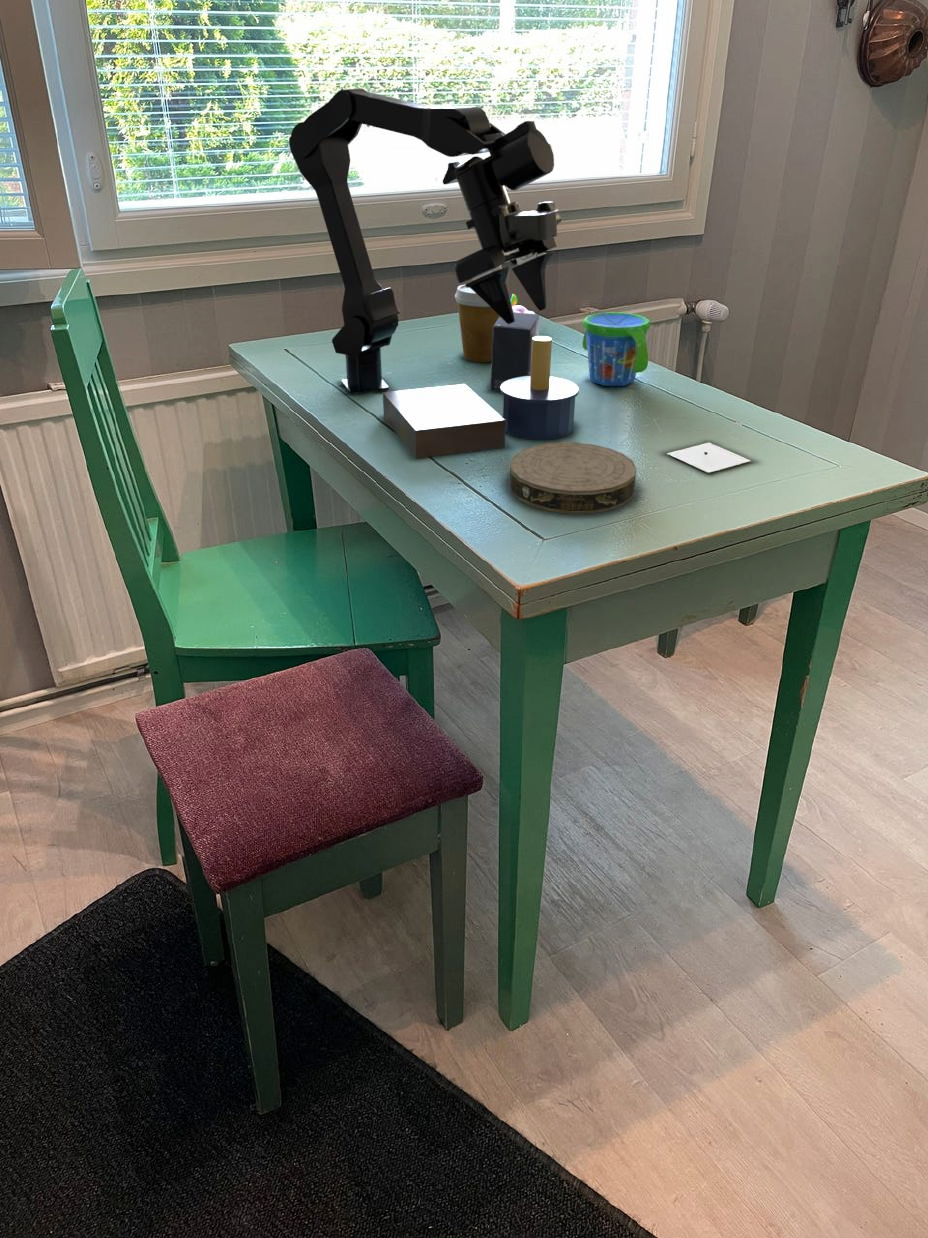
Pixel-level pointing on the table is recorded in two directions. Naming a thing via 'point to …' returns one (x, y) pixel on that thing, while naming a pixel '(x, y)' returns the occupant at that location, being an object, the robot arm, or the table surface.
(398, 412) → the block
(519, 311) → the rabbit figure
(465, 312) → the disposable coffee cup
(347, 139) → the robot arm
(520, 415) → the tin
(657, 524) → the table surface
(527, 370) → the small box
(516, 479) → the brown flat disc
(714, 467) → the coaster
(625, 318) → the snack cup
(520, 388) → the lid
